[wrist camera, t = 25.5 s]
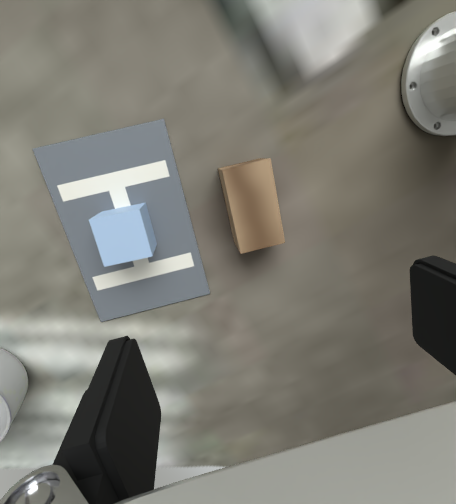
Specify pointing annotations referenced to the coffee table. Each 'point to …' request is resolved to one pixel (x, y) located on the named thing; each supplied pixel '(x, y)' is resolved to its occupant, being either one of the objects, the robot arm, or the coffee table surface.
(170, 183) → the letter card
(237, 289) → the coffee table surface
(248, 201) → the walnut block
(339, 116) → the coffee table surface
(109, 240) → the blue cube
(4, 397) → the teacup
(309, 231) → the coffee table surface
